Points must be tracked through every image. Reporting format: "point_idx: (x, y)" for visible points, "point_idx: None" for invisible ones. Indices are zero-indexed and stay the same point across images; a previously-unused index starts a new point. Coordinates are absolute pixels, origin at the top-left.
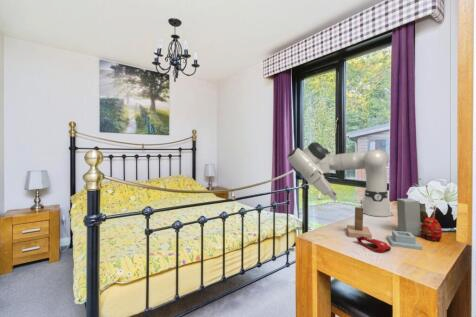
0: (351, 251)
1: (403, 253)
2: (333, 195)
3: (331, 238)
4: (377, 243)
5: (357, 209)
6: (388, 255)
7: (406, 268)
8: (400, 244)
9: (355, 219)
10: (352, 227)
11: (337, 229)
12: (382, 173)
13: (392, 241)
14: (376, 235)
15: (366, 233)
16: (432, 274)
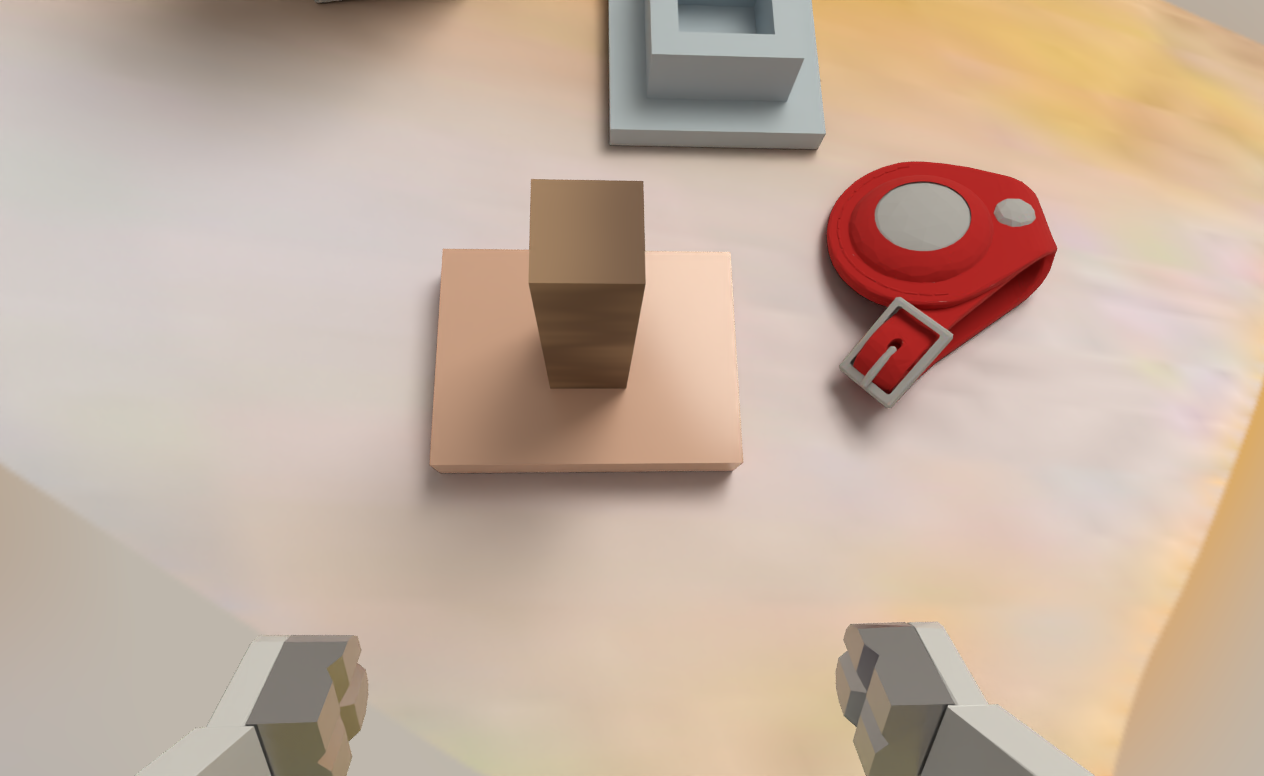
0: (1117, 473)
1: (940, 111)
2: (1018, 741)
3: None
4: (1049, 245)
5: (644, 267)
6: None
7: (1206, 160)
8: (818, 83)
9: (627, 348)
10: (532, 409)
11: (508, 581)
12: None
13: (778, 121)
14: None
15: (700, 292)
16: (1205, 53)
